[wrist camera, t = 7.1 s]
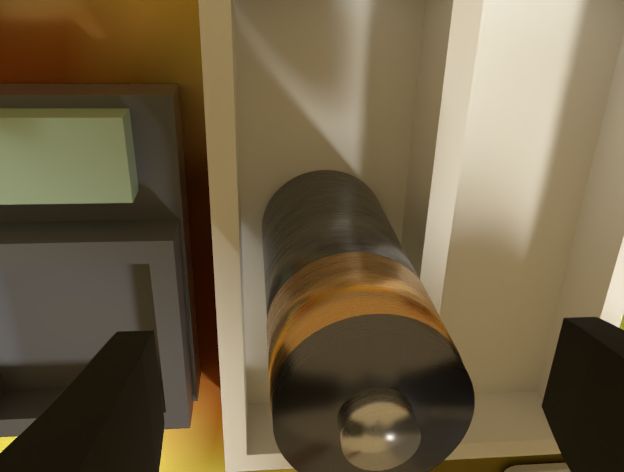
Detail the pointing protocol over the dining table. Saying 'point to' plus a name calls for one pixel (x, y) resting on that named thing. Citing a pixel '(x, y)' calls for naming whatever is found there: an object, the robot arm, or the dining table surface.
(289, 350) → the battery cell
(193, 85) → the dining table surface
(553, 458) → the dining table surface
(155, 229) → the checker cradle
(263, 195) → the trough tray
